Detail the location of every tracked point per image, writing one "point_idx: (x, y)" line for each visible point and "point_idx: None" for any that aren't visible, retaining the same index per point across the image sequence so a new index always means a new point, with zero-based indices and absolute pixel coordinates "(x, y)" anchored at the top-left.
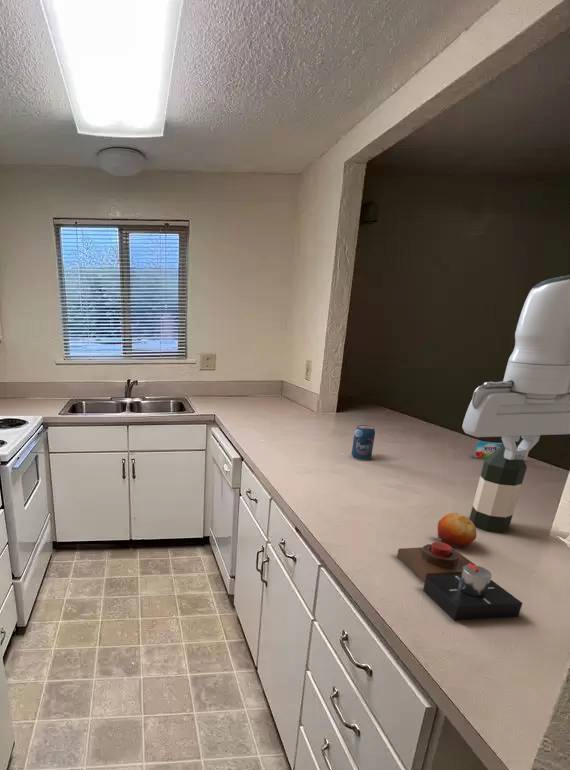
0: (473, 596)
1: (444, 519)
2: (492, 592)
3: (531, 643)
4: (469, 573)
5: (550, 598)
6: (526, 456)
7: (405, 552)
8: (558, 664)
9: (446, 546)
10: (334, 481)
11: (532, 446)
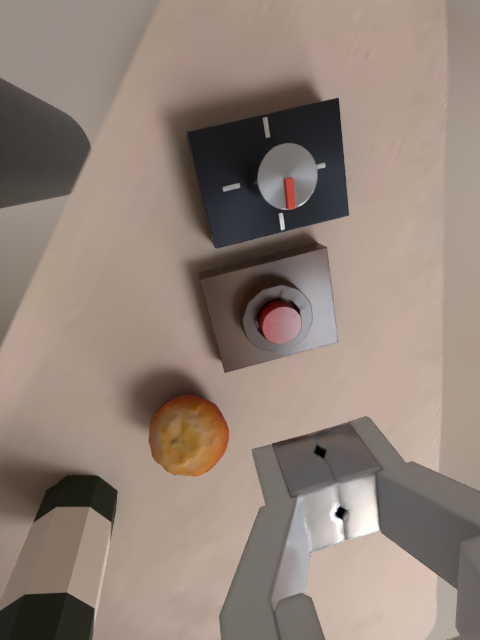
0: None
1: (222, 448)
2: (234, 170)
3: (205, 34)
4: (312, 162)
5: (81, 222)
6: (263, 457)
7: (331, 328)
8: None
9: (273, 325)
10: (323, 602)
11: (258, 539)
